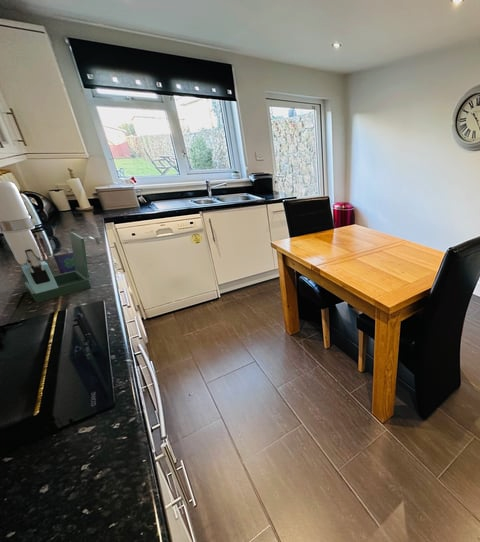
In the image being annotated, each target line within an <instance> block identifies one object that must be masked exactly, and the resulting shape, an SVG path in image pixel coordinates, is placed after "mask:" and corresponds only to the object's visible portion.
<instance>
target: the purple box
mask: <svg viewBox="0 0 480 542" xmlns="http://www.w3.org/2000/svg"><path fill="white" fill-rule="evenodd" d="M53 259H54V261H55V263H56V266H57V268H58V271H59V272H60V274H63V273H67V272H72V271H76V269H75V264H74V257H73V250H70V248H69V247H67V248H64V251H60V252H57V253H55V254H53ZM87 265H88V263H87ZM88 266H89V265H88Z"/></svg>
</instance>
